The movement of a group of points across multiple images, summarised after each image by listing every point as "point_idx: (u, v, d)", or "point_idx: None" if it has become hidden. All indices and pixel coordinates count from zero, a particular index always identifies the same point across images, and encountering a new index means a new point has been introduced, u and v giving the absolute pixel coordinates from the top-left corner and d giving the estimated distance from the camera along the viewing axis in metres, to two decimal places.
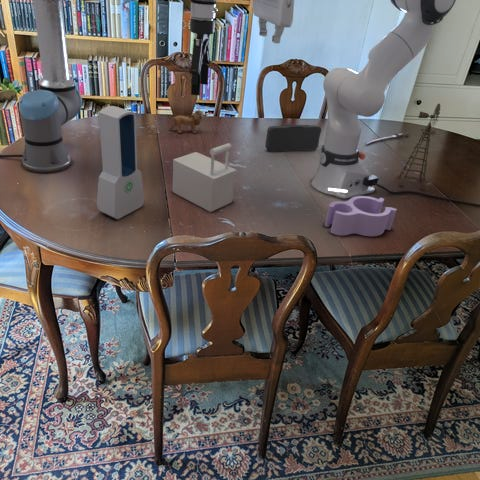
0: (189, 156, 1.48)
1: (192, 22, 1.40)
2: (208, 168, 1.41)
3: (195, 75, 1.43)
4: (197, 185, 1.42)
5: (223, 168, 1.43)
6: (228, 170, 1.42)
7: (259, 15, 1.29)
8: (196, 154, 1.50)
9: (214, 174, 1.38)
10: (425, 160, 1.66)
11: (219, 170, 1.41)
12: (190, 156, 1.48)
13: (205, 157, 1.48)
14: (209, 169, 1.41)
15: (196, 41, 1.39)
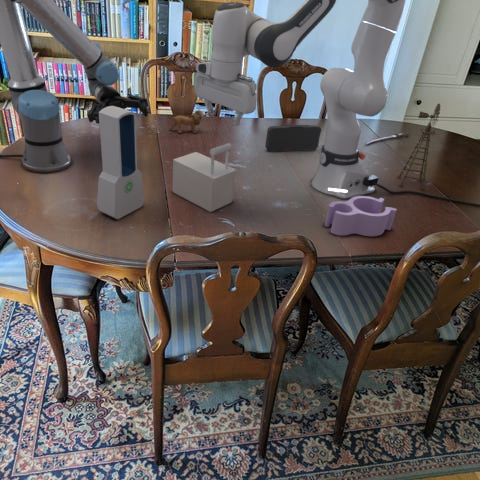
0: (189, 156, 1.48)
1: (114, 89, 1.61)
2: (208, 168, 1.41)
3: None
4: (197, 185, 1.42)
5: (223, 168, 1.43)
6: (228, 170, 1.42)
7: (208, 98, 1.30)
8: (196, 154, 1.50)
9: (214, 174, 1.38)
10: (425, 160, 1.66)
11: (219, 170, 1.41)
12: (190, 156, 1.48)
13: (205, 157, 1.48)
14: (209, 169, 1.41)
15: None
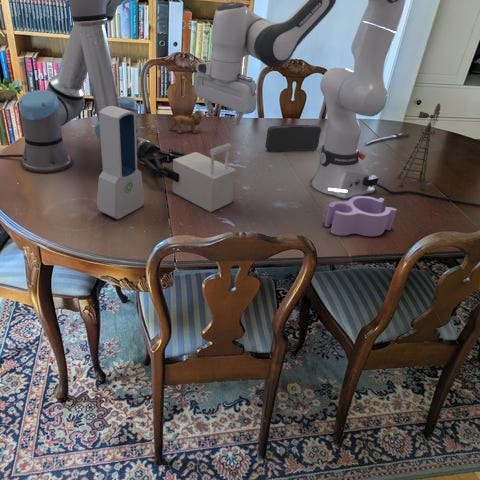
0: (189, 156, 1.48)
1: None
2: (208, 168, 1.41)
3: None
4: (197, 185, 1.42)
5: (223, 168, 1.43)
6: (228, 170, 1.42)
7: (208, 98, 1.30)
8: (196, 154, 1.50)
9: (214, 174, 1.38)
10: (425, 160, 1.66)
11: (219, 170, 1.41)
12: (190, 156, 1.48)
13: (205, 157, 1.48)
14: (209, 169, 1.41)
15: None
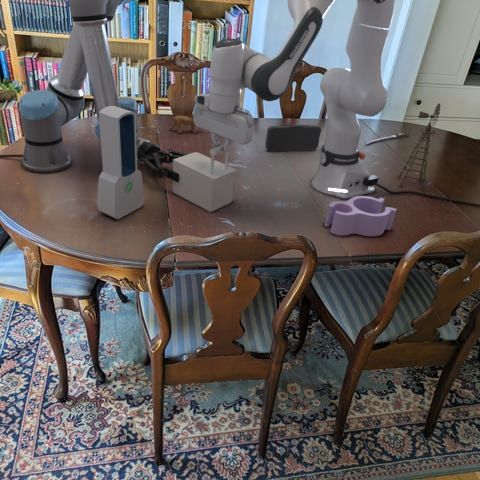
0: (189, 156, 1.48)
1: None
2: (208, 168, 1.41)
3: None
4: (197, 185, 1.42)
5: (223, 168, 1.43)
6: (228, 170, 1.42)
7: (206, 128, 1.35)
8: (196, 154, 1.50)
9: (214, 174, 1.38)
10: (425, 160, 1.66)
11: (219, 170, 1.41)
12: (190, 156, 1.48)
13: (205, 157, 1.48)
14: (209, 169, 1.41)
15: None
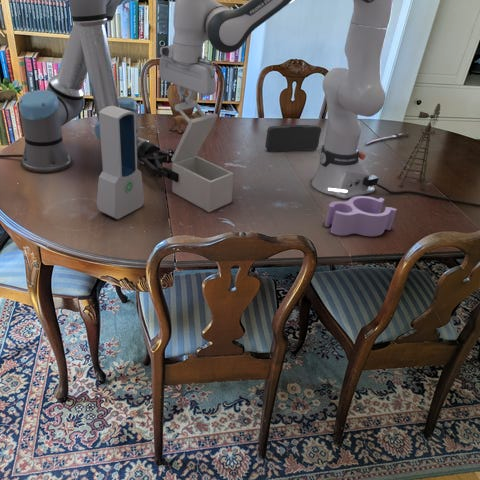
0: None
1: None
2: None
3: None
4: (195, 185, 1.42)
5: None
6: None
7: (171, 81, 1.37)
8: None
9: None
10: (425, 160, 1.66)
11: None
12: None
13: None
14: None
15: None
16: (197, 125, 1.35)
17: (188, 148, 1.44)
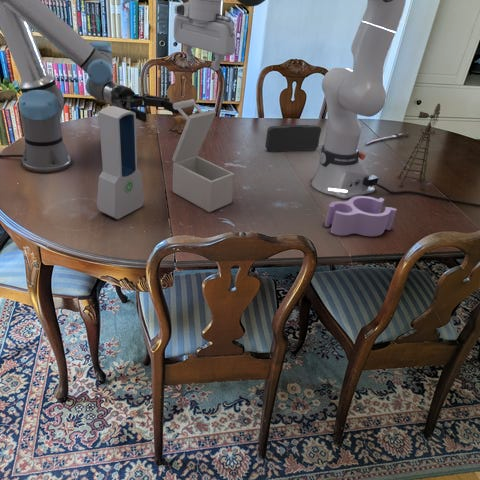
0: None
1: None
2: None
3: None
4: (196, 185, 1.42)
5: None
6: None
7: (187, 43, 1.28)
8: None
9: None
10: (425, 160, 1.66)
11: None
12: None
13: None
14: None
15: None
16: (196, 121, 1.36)
17: (188, 147, 1.44)
